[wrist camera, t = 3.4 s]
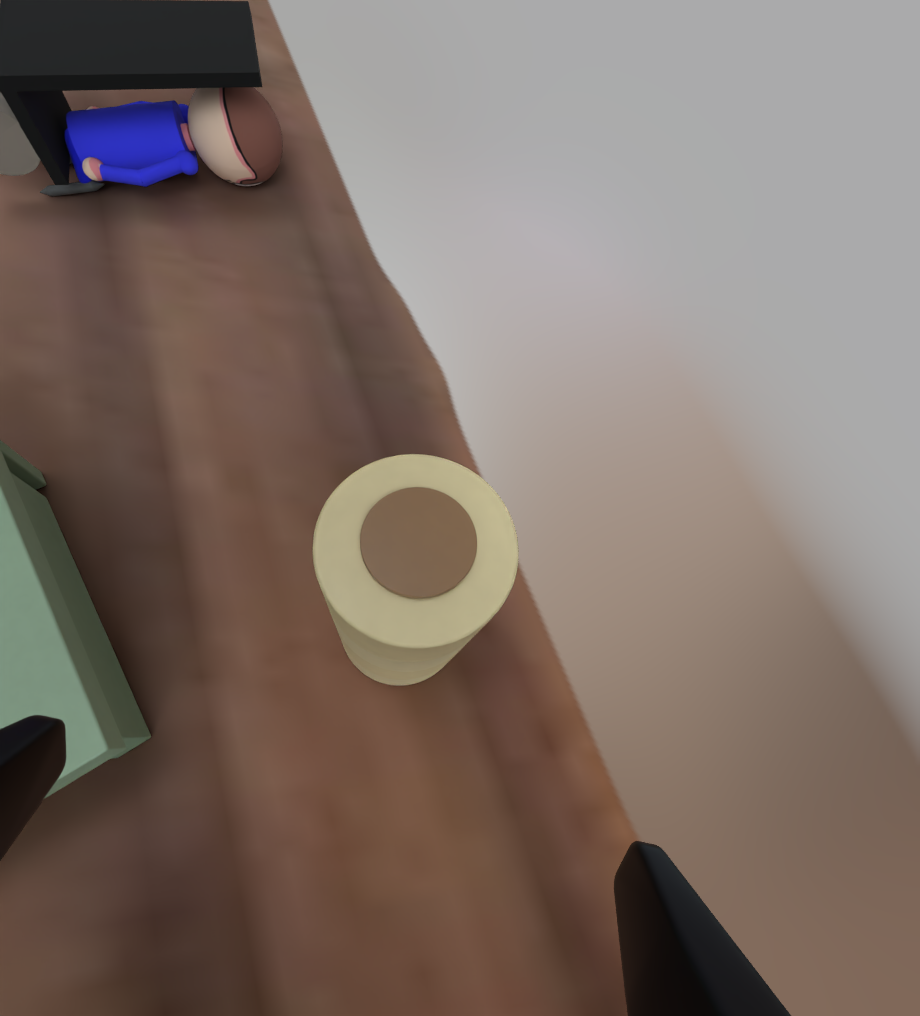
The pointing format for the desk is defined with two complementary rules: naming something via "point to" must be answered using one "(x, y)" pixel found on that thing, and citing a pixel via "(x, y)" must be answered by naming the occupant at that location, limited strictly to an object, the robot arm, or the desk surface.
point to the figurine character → (133, 65)
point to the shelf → (55, 634)
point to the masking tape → (413, 563)
